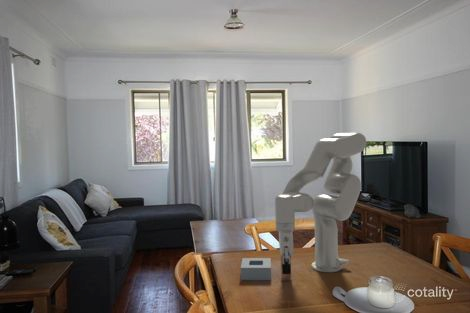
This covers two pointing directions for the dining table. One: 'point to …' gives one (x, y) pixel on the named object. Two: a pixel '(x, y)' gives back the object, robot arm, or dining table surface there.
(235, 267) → the dining table surface
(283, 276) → the peg
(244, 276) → the socket block
